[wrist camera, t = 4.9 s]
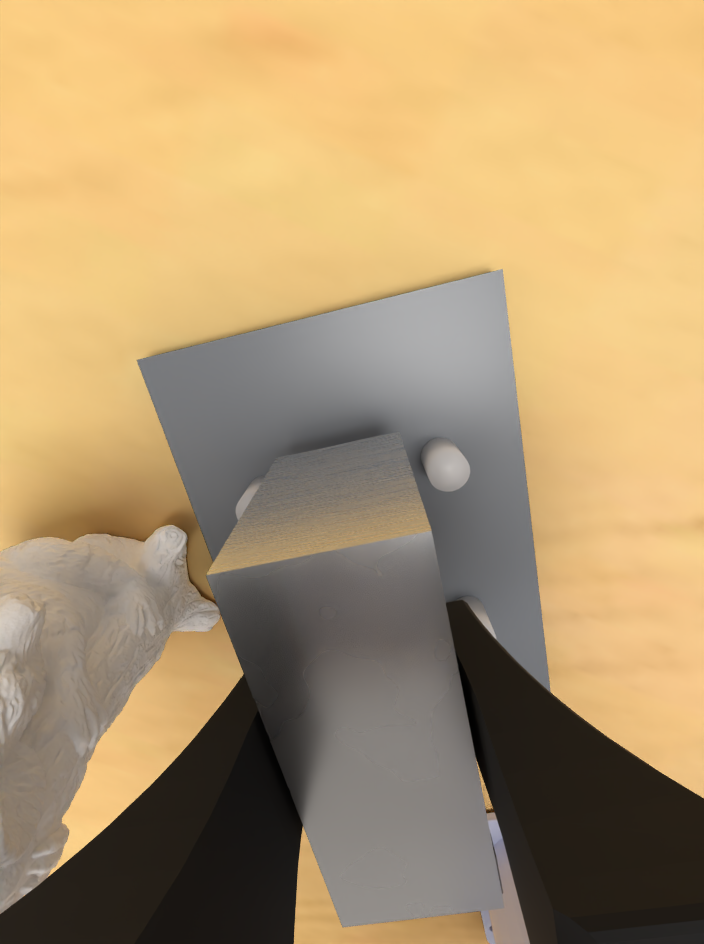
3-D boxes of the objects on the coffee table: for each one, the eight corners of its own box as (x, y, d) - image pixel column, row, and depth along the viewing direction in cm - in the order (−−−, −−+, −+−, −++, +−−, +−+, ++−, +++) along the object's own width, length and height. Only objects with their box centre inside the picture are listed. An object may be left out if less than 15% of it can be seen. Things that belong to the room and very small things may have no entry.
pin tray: (541, 683, 18) (569, 739, 16) (286, 724, 20) (275, 783, 17) (492, 272, 13) (522, 262, 11) (151, 357, 14) (108, 365, 12)
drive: (452, 687, 15) (507, 910, 9) (348, 704, 15) (341, 930, 10) (400, 430, 12) (435, 530, 7) (274, 458, 13) (202, 576, 7)
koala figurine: (275, 616, 18) (122, 1150, 6) (141, 680, 19) (-189, 1224, 8) (144, 434, 15) (-466, 765, 4) (0, 520, 17) (-784, 960, 5)
